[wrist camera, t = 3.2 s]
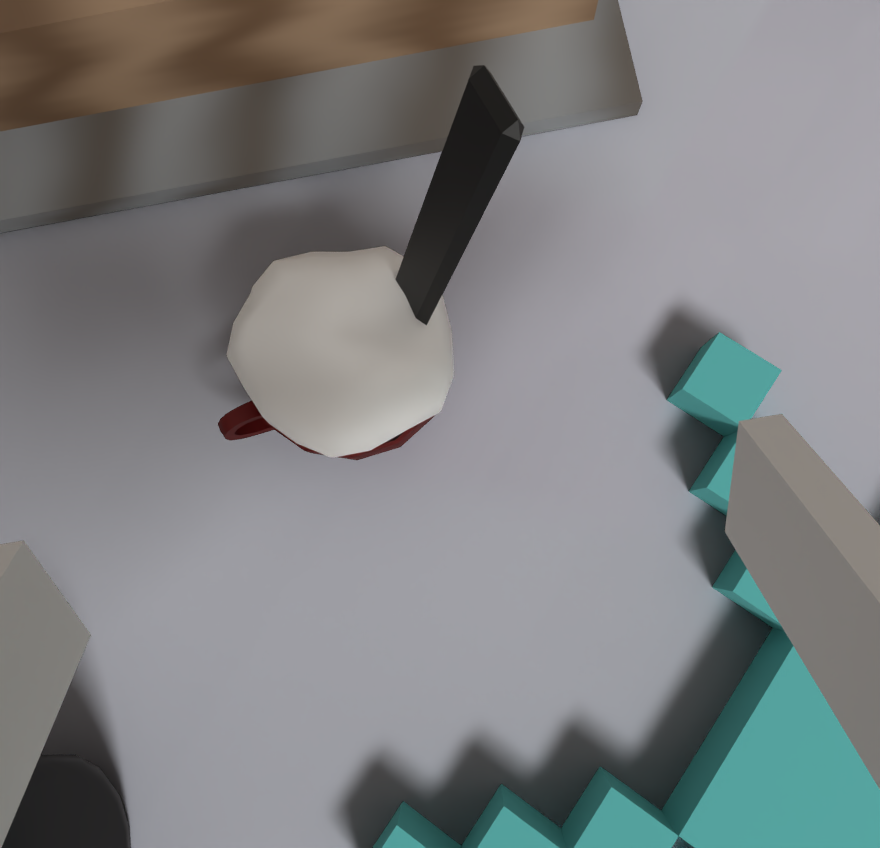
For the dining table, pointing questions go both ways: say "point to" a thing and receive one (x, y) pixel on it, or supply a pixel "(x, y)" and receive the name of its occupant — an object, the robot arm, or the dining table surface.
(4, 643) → the robot arm
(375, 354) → the cocoa
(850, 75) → the dining table surface
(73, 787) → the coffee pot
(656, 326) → the dining table surface
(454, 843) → the alien figure
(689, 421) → the dining table surface
